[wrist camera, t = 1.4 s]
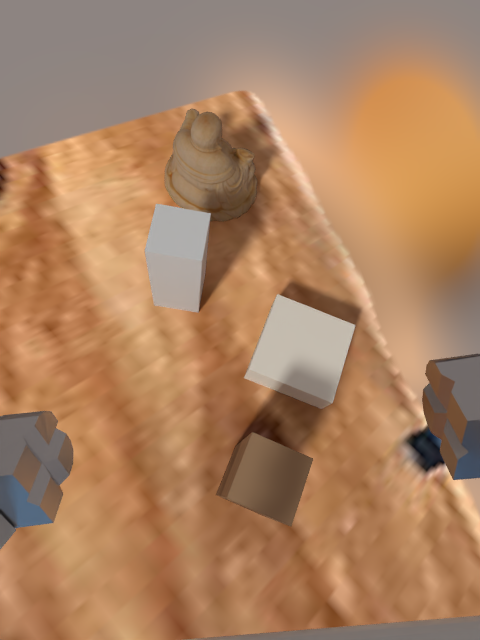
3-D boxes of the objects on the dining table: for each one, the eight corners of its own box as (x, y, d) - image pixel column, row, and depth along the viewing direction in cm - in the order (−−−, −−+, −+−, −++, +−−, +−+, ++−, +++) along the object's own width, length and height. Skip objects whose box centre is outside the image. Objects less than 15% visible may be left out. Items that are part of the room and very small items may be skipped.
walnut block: (215, 494, 42) (226, 497, 31) (235, 445, 44) (252, 432, 33) (263, 515, 42) (291, 526, 31) (280, 465, 44) (313, 458, 33)
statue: (119, 144, 43) (171, 61, 44) (152, 198, 57) (191, 134, 58) (224, 203, 42) (276, 118, 43) (231, 243, 56) (270, 178, 57)
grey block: (154, 305, 48) (144, 251, 37) (162, 266, 50) (156, 203, 39) (198, 312, 49) (202, 261, 38) (205, 273, 51) (210, 213, 39)
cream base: (243, 378, 47) (248, 369, 43) (270, 308, 50) (277, 294, 47) (320, 409, 47) (332, 403, 43) (342, 337, 50) (355, 325, 46)
